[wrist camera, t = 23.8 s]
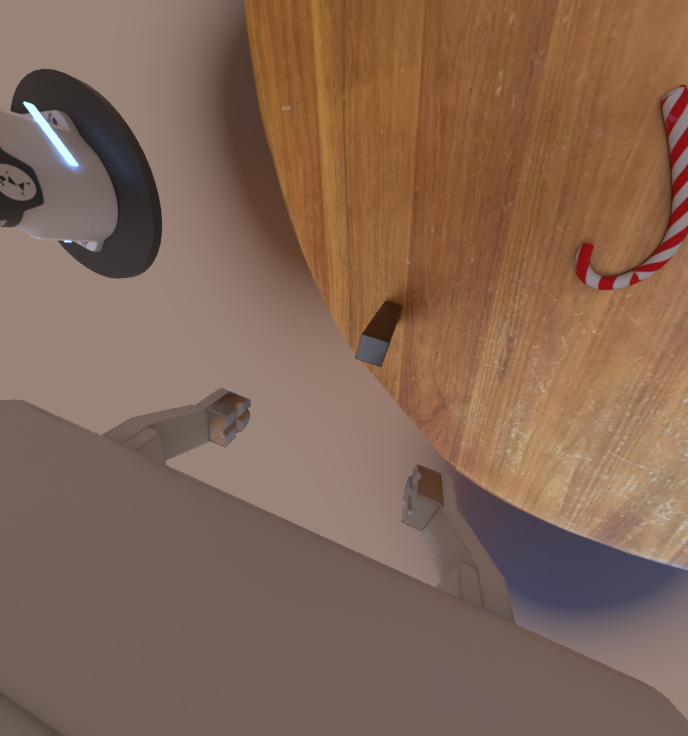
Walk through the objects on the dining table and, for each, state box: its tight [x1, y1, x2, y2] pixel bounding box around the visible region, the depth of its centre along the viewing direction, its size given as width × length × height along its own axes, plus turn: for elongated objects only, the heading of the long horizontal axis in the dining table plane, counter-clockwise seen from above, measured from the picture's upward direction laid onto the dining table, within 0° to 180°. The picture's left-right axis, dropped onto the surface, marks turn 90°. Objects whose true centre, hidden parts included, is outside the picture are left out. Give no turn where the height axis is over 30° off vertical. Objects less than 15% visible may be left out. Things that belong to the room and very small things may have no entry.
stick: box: [355, 301, 402, 367], centre depth 27 cm, size 2×2×14 cm
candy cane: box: [575, 85, 688, 290], centre depth 22 cm, size 8×1×15 cm
